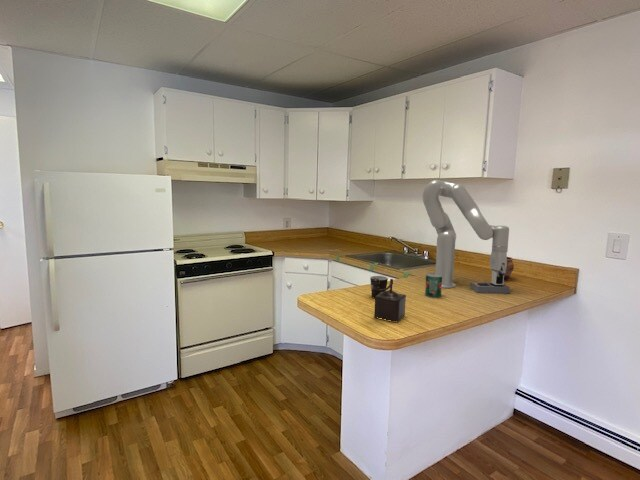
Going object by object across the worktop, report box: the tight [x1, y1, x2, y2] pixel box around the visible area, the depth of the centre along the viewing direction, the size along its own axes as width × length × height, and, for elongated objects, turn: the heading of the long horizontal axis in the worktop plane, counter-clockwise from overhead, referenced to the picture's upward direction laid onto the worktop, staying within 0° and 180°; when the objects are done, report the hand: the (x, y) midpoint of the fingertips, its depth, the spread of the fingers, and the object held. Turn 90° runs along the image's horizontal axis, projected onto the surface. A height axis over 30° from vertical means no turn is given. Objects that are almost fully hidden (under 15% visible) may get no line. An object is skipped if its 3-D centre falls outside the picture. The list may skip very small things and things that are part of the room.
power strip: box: [469, 281, 511, 295], centre depth 198 cm, size 17×16×4 cm
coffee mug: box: [369, 275, 389, 299], centre depth 181 cm, size 12×9×10 cm
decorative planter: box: [501, 256, 514, 281], centre depth 219 cm, size 20×12×14 cm, turn 155°
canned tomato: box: [424, 272, 442, 299], centre depth 184 cm, size 8×8×11 cm
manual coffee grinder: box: [370, 278, 407, 322], centre depth 150 cm, size 16×11×18 cm
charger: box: [490, 269, 505, 285], centre depth 193 cm, size 4×4×7 cm
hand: (497, 282), depth 194 cm, fingers closed on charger, 4 cm apart
